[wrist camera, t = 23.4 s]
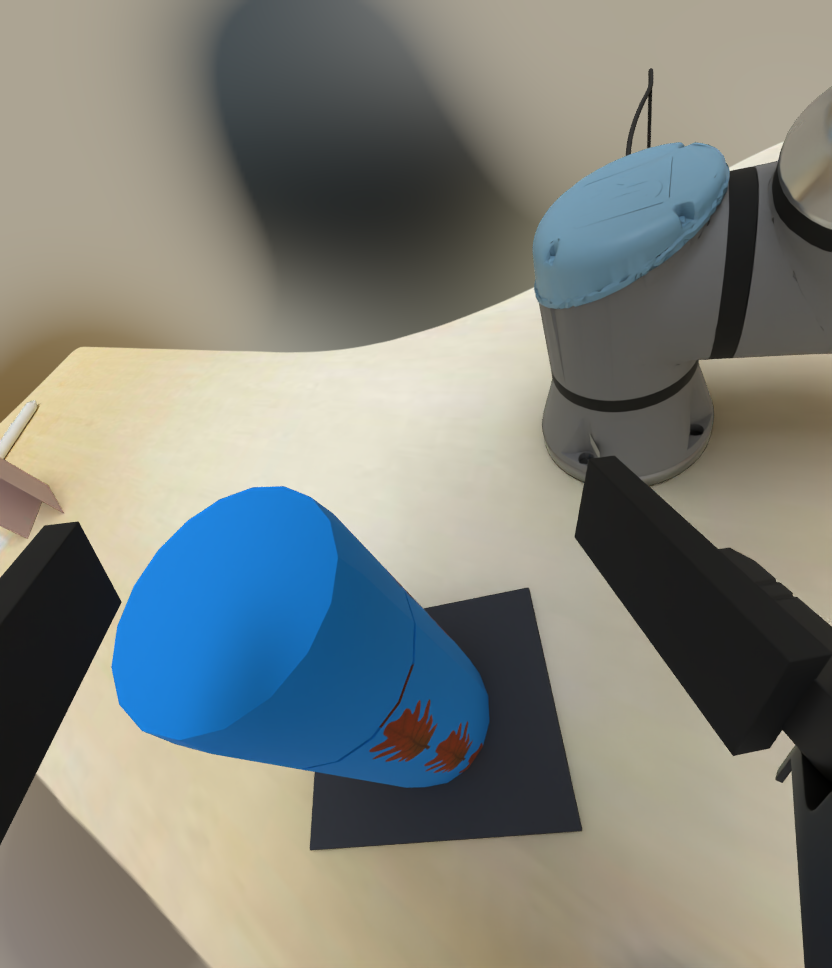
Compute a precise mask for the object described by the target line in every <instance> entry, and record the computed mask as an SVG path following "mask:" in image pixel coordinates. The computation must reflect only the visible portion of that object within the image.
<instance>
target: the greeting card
mask: <svg viewBox="0 0 832 968" xmlns="http://www.w3.org/2000/svg"><path fill="white" fill-rule="evenodd" d="M42 502H44V503H46V504H48V505H50V506H52V507H53V508H55V509H57V510H59V511H61V512H62V513H64V512H63V510H62V508H61V507H60V505H59V503H58V501H57V500H56V498H55V496H54V494H53V493H52V491H51V489H50V487H49V486H48V485H47V484H45V483H43V482H42V481H40V480H38V479H36V478H35V477H33V476H31V475H30V474H28V473H26V472H25V471H23V470H21V469H19V468H18V467H16V466H14V465H13V464H11V463H9V462H7V461H6V460H4V459H2V458H1V457H0V526H2V527H4V528H6V529H8V530H10V531H12V532H14V533H16V534H19V535H21V536H23V537H25V538H27V539H28V536H29V534H30V531H31V529H32V526H33V524H34V521H35V519H36V516H37V514H38V511H39V508H40V506H41V503H42Z"/></svg>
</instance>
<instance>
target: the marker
mask: <svg viewBox="0 0 832 968" xmlns="http://www.w3.org/2000/svg"><path fill="white" fill-rule="evenodd" d="M36 409H37V402H36V401H35V400H33V401H30V402H28V403H27V404H25V406H24V407H23V409H22V410H21V411H20V413H19V414H18V416H17V417H16V419H15V420H14V422H13V423H11V425H10V427H9V429H8V430H7V432H5V434H4V436H3V438H2V439H1V440H0V457H1V458H2V459H4V458H5V456H6V455H7V453H8V452H9V450H10V449H11V447H12V446H13V444H14V443H15V441H16V440H17V438H18V436H19V435H20V433H21V432H22V430H23V429H24V427H25V426H26V424H27V423H28V421H29V420H30V418H31V417H32V415H33V414H34V412H35V411H36Z"/></svg>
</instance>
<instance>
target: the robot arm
mask: <svg viewBox="0 0 832 968" xmlns="http://www.w3.org/2000/svg"><path fill="white" fill-rule="evenodd" d="M648 78H649V79H648V88H647V91H646V93H645V95H644V97H643V98H642V100H641V102H640V104H639V107H638V109H637V111H636V114H635V116H634V119H633V122H632V125H631V128H630V132H629V136H628V141H627V148H626V156H625V157H623V158H620V159H618V160H615V161H614V162H611V163H609V164H607V165H605V166H604V167H602V168H600V169H598V170H596V171H594V172H593V173H591V174H589V175H588V176H586V177H585V178H583V179H582V180H580V181H579V182H577V183H576V184H575V185H574V186H573V187H572V188H570V189H569V190H567V191H566V192H565V193H564V194H562V195H561V196H560V197H559V198H558V199H557V200H556V201H555V203H553V205H552V206H551V207H550V208H549V209H548V211H547V212H546V214H545V215H544V216H543V218H542V220H541V221H540V224H539V225H538V228H537V230H536V233H535V237H534V241H533V259H534V268H535V278H536V279H535V285H534V290H535V293H536V298H537V300H538V302H539V306H540V311H541V317H542V322H543V328H544V333H545V339H546V344H547V350H548V355H549V361H550V366H551V372H552V378H553V379H552V382H551V386H550V390H549V394H548V398H547V401H546V405H545V409H544V413H543V419H542V429H543V434H544V439H545V443H546V447H547V450H548V452H549V454H550V456H551V457H552V459H553V460H554V462H555V463H556V464H557V465H558V466H559V467H560V468H561V469H562V470H564V471H565V472H566V473H568V474H569V475H571V476H573V477H574V478H576V479H578V480H581V481H583V482H584V487H583V493H582V499H581V504H580V510H579V515H578V521H577V527H576V532H575V538H576V540H577V541H578V543H579V544H580V545H581V547H582V548H583V549H584V551H585V552H586V554H587V555H588V556H589V558H590V559H591V560H592V562H593V563H594V565H595V566H596V567H597V569H598V570H599V572H600V573H601V574H602V576H603V577H604V578H605V580H606V581H607V583H608V584H609V585H610V587H611V588H612V589H613V591H614V592H615V594H616V595H617V596H618V598H619V599H620V601H621V602H622V603H623V605H624V606H625V607H626V609H627V610H628V612H629V613H630V614H631V616H632V617H633V618H634V620H635V621H636V623H637V624H638V625H639V627H640V628H641V630H642V631H643V632H644V634H645V635H646V636H647V638H648V639H649V641H650V642H651V643H652V645H653V646H654V647H655V649H656V650H657V652H658V653H659V654H660V656H661V657H662V658H663V660H664V661H665V663H666V664H667V665H668V667H669V668H670V670H671V671H672V672H673V674H674V675H675V676H676V678H677V679H678V681H679V682H680V683H681V685H682V686H683V687H684V689H685V690H686V692H687V693H688V694H689V696H690V697H691V699H692V700H693V701H694V703H695V704H696V705H697V707H698V708H699V710H700V711H701V712H702V714H703V715H704V716H705V718H706V719H707V721H708V722H709V723H710V725H711V726H712V728H713V729H714V730H715V732H716V733H717V734H718V736H719V737H720V739H721V740H722V741H723V743H724V744H725V745H726V747H727V748H728V750H729V751H730V752H731V754H732V755H733V756H735V755H740V754H745V753H749V752H754V751H759V750H764V749H769V748H770V747H771V746H772V744H773V743H774V741H775V740H776V738H777V737H778V735H779V734H780V732H781V731H782V730H783V731H784V732H785V733H786V734H787V736H788V737H789V738H790V739H791V740H792V741H793V743H794V744H795V746H794V748H793V749H792V751H791V752H790V753H789V755H788V756H787V758H786V759H785V760H784V762H783V763H782V764H781V766H780V767H779V769H778V771H777V775H776V779H775V780H777V781H779V782H782V783H783V781H784V780H785V779H786V777H787V776H788V775H789V773H790V772H791V771H792V785H793V800H794V815H795V830H796V845H797V860H798V875H799V890H800V905H801V919H802V934H803V949H804V964H805V968H832V627H831V626H830V625H829V624H828V623H827V622H826V621H824V620H823V619H822V618H821V617H820V616H819V615H817V614H816V613H815V612H814V611H813V610H812V609H810V608H809V607H808V606H807V605H806V604H805V603H803V602H802V601H801V600H800V599H799V598H798V597H793V595H792V594H793V593H792V592H791V591H789V590H788V589H787V588H786V587H785V586H784V585H782V584H781V583H780V582H778V583H777V582H776V579H775V578H774V577H773V576H772V575H771V574H770V573H768V572H767V571H766V570H765V569H764V568H763V567H761V566H760V565H759V564H758V563H757V562H756V561H754V560H752V559H750V558H748V557H746V556H744V555H742V554H741V553H739V552H737V551H735V550H733V549H731V548H724V549H717V548H716V547H715V546H714V545H713V544H712V543H711V542H710V541H708V540H707V539H706V538H705V537H704V536H703V535H702V534H701V533H700V532H699V531H697V530H696V529H695V528H694V527H693V526H692V525H691V524H690V523H689V522H688V521H686V520H685V519H684V518H683V517H682V516H681V515H680V514H679V513H678V512H676V511H675V510H674V509H673V508H672V507H671V506H670V505H669V504H668V503H667V502H665V501H664V500H663V499H662V498H661V497H660V496H659V495H658V494H657V493H656V492H654V491H653V490H652V489H651V488H650V487H649V486H650V485H653V484H657V483H660V482H663V481H665V480H668V479H670V478H672V477H674V476H676V475H678V474H679V473H681V472H683V471H684V470H685V469H687V468H688V467H689V466H691V465H692V464H693V463H694V462H695V461H696V460H697V459H698V458H699V457H700V455H701V454H702V453H703V451H704V450H705V448H706V446H707V444H708V441H709V439H710V435H711V430H712V426H713V421H714V408H713V403H712V399H711V396H710V393H709V391H708V388H707V385H706V382H705V380H704V377H703V374H702V371H701V369H700V366H699V363H698V361H699V360H707V359H722V358H744V357H763V356H783V355H804V354H830V353H832V86H831V87H830V88H829V89H827V90H826V91H825V92H824V93H822V94H821V95H820V96H819V97H817V98H816V99H815V100H814V101H813V102H812V103H811V104H810V105H809V106H808V107H807V108H806V109H805V110H804V111H803V112H802V113H801V115H800V116H799V117H798V118H797V119H796V121H795V122H794V124H793V126H792V127H791V129H790V130H789V132H788V134H787V136H786V139H785V141H784V143H783V146H782V149H781V152H780V155H779V160H778V161H776V162H771V163H767V164H762V165H757V166H754V167H748V168H743V169H738V170H733V171H729V167H728V165H727V163H726V162H725V158H724V156H723V155H722V154H721V152H720V151H719V150H718V149H716V148H715V147H713V146H710V145H707V144H703V143H696V142H695V143H693V144H690V145H688V146H685V147H684V145H683V144H682V143H679V142H678V143H670V144H664V145H660V146H656V147H651V118H652V86H653V69H652V68H651V69H649V74H648ZM647 97H648V128H647V131H648V132H647V149H644V150H641V151H639V152H636V153H633V154H631V145H632V139H633V134H634V130H635V127H636V124H637V121H638V118H639V115H640V113H641V110H642V108H643V105H644V103H645V101H646V99H647ZM120 604H121V600H120V598H119V596H118V594H117V593H116V591H115V589H114V587H113V585H112V583H111V581H110V579H109V578H108V576H107V574H106V572H105V570H104V568H103V566H102V565H101V563H100V561H99V559H98V557H97V555H96V553H95V551H94V550H93V548H92V546H91V544H90V542H89V540H88V538H87V537H86V535H85V533H84V531H83V529H82V527H81V525H80V523H79V522H70V523H62V524H54V525H46V526H44V527H43V528H42V529H41V530H40V532H39V533H38V534H37V535H36V536H35V537H34V539H33V540H32V541H31V542H30V543H29V545H28V546H27V547H26V548H25V549H24V550H23V552H22V553H21V554H20V555H19V556H18V558H17V559H16V560H15V561H14V562H13V563H12V565H11V566H10V567H9V568H8V569H7V571H6V572H5V573H4V574H3V575H2V576H1V578H0V844H1V842H2V840H3V838H4V836H5V834H6V832H7V830H8V828H9V826H10V824H11V822H12V820H13V818H14V816H15V814H16V812H17V810H18V808H19V806H20V804H21V802H22V800H23V798H24V796H25V794H26V792H27V790H28V788H29V786H30V784H31V782H32V780H33V778H34V776H35V774H36V772H37V770H38V768H39V766H40V764H41V762H42V760H43V758H44V756H45V754H46V752H47V750H48V748H49V746H50V744H51V742H52V740H53V738H54V736H55V734H56V732H57V730H58V728H59V726H60V724H61V722H62V720H63V718H64V716H65V714H66V712H67V710H68V708H69V706H70V704H71V702H72V700H73V698H74V696H75V694H76V692H77V690H78V688H79V686H80V684H81V682H82V680H83V678H84V676H85V674H86V672H87V670H88V668H89V666H90V664H91V662H92V660H93V658H94V656H95V654H96V652H97V650H98V648H99V646H100V644H101V642H102V640H103V638H104V636H105V634H106V632H107V630H108V628H109V626H110V624H111V622H112V620H113V618H114V616H115V614H116V612H117V610H118V608H119V606H120Z"/></svg>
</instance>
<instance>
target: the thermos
mask: <svg viewBox="0 0 832 968" xmlns="http://www.w3.org/2000/svg"><path fill="white" fill-rule="evenodd" d="M112 672H113V677H114V682H115V686H116V691H117V696H118V701H119V705H120V706H121V707H122V708H123V709H124V710H125V712H126V713H127V714H128V715H129V716H130V717H131V719H132V720H133V721H134V722H135V723H136V724H137V726H138V727H139V728H140V729H141V730H142V731H144V732H146V733H149V734H151V735H154V736H156V737H159V738H161V739H164V740H166V741H169V742H171V743H174V744H177V745H181V746H185V747H188V748H192V749H196V750H199V751H203V752H207V753H211V754H216V755H221V756H227V757H233V758H239V759H244V760H250V761H256V762H262V763H267V764H273V765H279V766H285V767H290V768H296V769H302V770H308V771H313V772H319V773H325V774H331V775H336V776H342V777H348V778H354V779H359V780H365V781H371V782H377V783H382V784H388V785H394V786H400V787H405V788H413V787H429V786H434V785H439V784H444V783H448V782H450V781H451V780H452V779H454V778H455V777H457V776H458V775H460V774H461V773H462V772H464V771H465V770H467V769H468V768H469V766H470V765H471V763H472V762H473V761H474V759H475V758H476V756H477V755H478V753H479V752H480V750H481V749H482V747H483V744H484V740H485V736H486V733H487V729H488V725H489V722H490V721H489V701H488V694H487V691H486V689H485V686H484V684H483V681H482V679H481V676H480V673H479V672H478V671H477V669H476V668H475V666H474V665H473V664H472V662H471V661H470V659H469V658H468V657H467V656H466V655H465V653H464V652H463V651H462V650H461V649H460V648H459V647H458V645H457V644H456V643H455V642H454V641H453V640H452V639H451V638H450V637H449V635H448V634H447V633H446V632H445V631H444V630H443V629H442V628H441V627H440V626H439V625H438V624H437V623H436V622H435V621H434V620H433V619H432V618H431V616H430V615H429V614H428V613H427V612H426V611H425V610H424V609H423V608H422V607H421V606H420V605H419V604H418V603H417V602H416V601H415V600H414V598H413V597H412V596H411V595H410V594H409V593H408V592H407V591H406V590H405V589H404V588H403V587H402V586H401V585H400V584H399V583H398V582H397V581H396V579H395V578H394V577H393V576H392V575H391V574H390V573H389V572H388V571H387V570H386V569H385V568H384V567H383V566H382V565H381V564H380V563H379V562H378V560H377V559H376V558H375V557H374V556H373V555H372V554H371V553H370V552H369V551H368V550H367V549H366V548H365V547H364V546H363V545H362V544H361V542H360V541H359V540H358V539H357V538H356V537H355V536H354V535H353V534H352V533H351V532H350V531H349V530H348V529H347V528H346V527H345V526H344V525H343V523H342V522H341V521H340V520H339V519H338V518H337V517H336V516H335V515H334V514H333V513H331V512H330V511H329V510H327V509H326V508H325V507H323V506H322V505H321V504H319V503H318V502H317V501H315V500H314V499H312V498H311V497H309V496H306V495H304V494H302V493H299V492H297V491H294V490H292V489H289V488H287V487H284V486H280V487H253V488H250V489H247V490H244V491H242V492H239V493H236V494H233V495H230V496H228V497H225V498H222V499H220V500H218V501H217V502H215V503H214V504H212V505H211V506H209V507H208V508H206V509H205V510H203V511H202V512H200V513H198V514H197V515H195V516H194V517H192V518H191V519H189V520H188V521H187V522H186V523H185V524H184V525H183V526H182V527H181V528H180V529H179V530H178V531H177V532H176V533H175V534H174V535H173V536H172V537H171V538H170V539H169V540H168V541H167V542H166V543H165V544H164V545H163V546H162V547H161V548H160V549H159V550H158V551H157V553H156V554H155V556H154V557H153V559H152V560H151V562H150V563H149V565H148V566H147V568H146V569H145V570H144V572H143V573H142V575H141V576H140V578H139V579H138V581H137V582H136V584H135V585H134V587H133V590H132V592H131V594H130V597H129V599H128V602H127V604H126V607H125V609H124V611H123V614H122V616H121V619H120V621H119V624H118V626H117V632H116V639H115V646H114V653H113V660H112Z"/></svg>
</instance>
